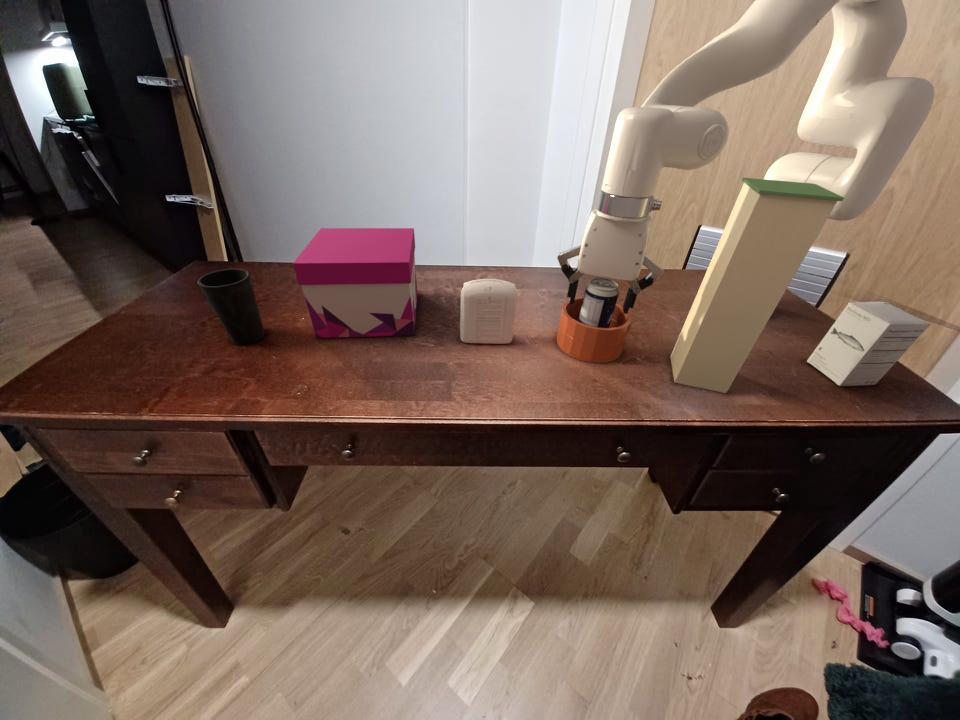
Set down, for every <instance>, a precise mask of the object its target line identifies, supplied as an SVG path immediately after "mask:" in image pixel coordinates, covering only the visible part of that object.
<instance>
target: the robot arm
mask: <svg viewBox="0 0 960 720" xmlns="http://www.w3.org/2000/svg"><path fill="white" fill-rule="evenodd" d="M830 11H831V13H832V20H833V36H832V41H831V45H830V48H829V51H828V53H827V56H826V58H825V61H824V63H823V65H822V68H821V70H820V72H819V74H818V77H817V79H816V81H815V83H814V86H813V87H812V91H811V93H810V95H809V97H808V100H807V102H806V104H805V106H804V109H803V111H802V113H801V117H800V118H799V121H798V125H797V129H796V131H797V132H796V133H797V136H798V138H799V139H800V140H802V141H803V142H805V143H806V142H807V143H810V144H814V145H822V146H828V147H838V148H839V147H840V148H846V149H854V150H856V154H855V158H854V157H846V156H840V155H838V154H837V155H835V154H827V153H821V152H813V151H795V152H792V153H787V154H785V155H783V156H781V157H780V158H778V159H776V160H775V161H774V162H773V163H772V164H771V165H770V167H769V168H768V169H767V171H766V173H765V175H764V177H763V179H764V180H776V181H788V182H800V183H812V184H817V185H819V186H821V187H823V188H825V189H827V190H829V191H831V192H833V193H835V194H838V195H840V196H842V197H844V199H843V201H837V203H836V204H835V206H834V208H833V210H832V211H831V213H830V215H829V217H828V218H827V220H833V221H841V222H844V221H845V222H847V221H851V220H854V219H856V218H858V217H860V216H861V215H863V214H864V213H865V212H867V211H868V210H869V209H870V208H871V206H872V205H873V204H874V203H875V202H876V200H877V199H878V198H879V196H880V195H881V193H882V191H883V190H884V188H885V187H886V185H887V183H888V182H889V180H890V179H891V177H892V175H893V174H894V172H895V171H896V169H897V167H898V165H900V163H901V161H902V159H903V158H904V156H905V154H906V153H907V151H908V149H909V148H910V146H911V145H912V143H913V141H914V140H915V138H916V136H917V135H918V133H919V132H920V130H921V128H922V126H923V125H924V123H925V121H926V119H927V118H928V116H929V114H930V111H931V109H932V106H933V103H934V99H935V87H934V85H933V83H932V82H931V81H929V80H928V79H926V78H924V77H923V78H922V77H917V76H888V73H889V71H890V68H891V66H892V64H893V62H894V60H895V59H896V56H897V54H898V52H899V50H900V48H901V45H903V43H904V39H905V37H906V33H907V29H908V21H907V13H906V8H905V5H904V2H903V0H754V2H753V3H751V5H750V6H749V7H748V9H746V11H745V12H744V14H743V15H742V16H741V17H740V18H739V19H738V21H737V22H735V23H734V24H732V26H731V27H728V28H727V29H726V30H725V31H723V32H722V33H720V34H719V35H717V36H715V37H714V38H712V39H711V40H710V41H709V42H707V43H706V44H704V45H703V46H702V47H700V48H698V49H697V50H696V51H695V52H694V53H692V54H691V55H690V56H688V57H686V58H685V59H683V61H681V62H680V63H679V64H677V66H675V67H674V68H672V70H670V72H669V73H667V75H665V76H664V78H663V79H661V81H660V82H658V84H657V86H656V87H655V88H654V89H653V91H652V92H651V93H650V94H649V95H648V97H647V98H646V99H645V101H644V102H643V103H642V105H641V106H629V107H626V108H623V109H622V110H621V111H620V112H619V113H618V115H617V118H616V121H615V124H614V129H613V133H612V138H611V142H610V146H609V147H610V148H609V152H608V157H607V162H606V166H605V170H604V174H603V179H602V184H601V190H600V193H599V198H598V204H597V208H593V209H592V210H591V212H590V215H589V217H588V221H587V223H586V226H585V228H584V233H583V237H582V240H581V244H580V245H578V246H574V247H571V248H569V249H566V250H564V251H561V252H559V253H558V255H557V256H556V257H557V261H558V263H559V267H560V268H561V272H562V274H563V275H564V276H565V278H566V279H567V281H568V283H569V284H568V289H567V294H566V298H570V299H569V300H570V303H569V304H574V300H575V298H576V297H577V290H578V286H579V281H580V278H582V277H584V275H586V276H591V277H596V278H605V279H610V280H617V281H624V282H627V283H628V285H629V287H628V288H627V292H626V295H625V299H624V302H623V305H622V306H623V313H624V314H627V313H628V311H630V309H634V306H635V303H636V300H637V297H638V294H640V293H641V292H642V291H644V290H645V289H647V288H648V287H649V288H650V287H651V286H652V285H653V284H654V283H655V282H656V281H657V280H659V278H660V277H661V276H662V275H663V274H664V273H665V272H664V267H663V266H661V265H660V264H659V263H658V262H656V261H655V260H654V259H653V258H651V257H650V256H648V254H646V251H647V249H648V248H647V247H648V242H649V236H650V232H651V231H650V230H651V226H652V216H651V215H649V214H650V213H651V212H655V211H660V210H661V208H662V204H663V201H662V200H658V199H656V198H655V197H654V195H655V191H656V189H657V185H658V181H659V178H660V175H661V171H662V169H663V168H672V169H677V170H683V171H690V170H692V171H694V170H697V169H701V168H704V167H705V166H708V165H709V164H711V163H712V162H713V161H714V160H716V158H718V156H720V154H721V153H722V152H723V150H724V148H725V146H726V144H727V143H728V138H729V133H730V131H729V129H730V127H729V124H728V123H729V122H728V121H727V119H726V117H725V116H724V114H722V113H721V112H720V111H718V110H716V109H713V108H709V107H701V106H697V105H698V104H700V103H702V102H703V101H705V100H706V99H709V98H710V97H712V96H714V95H717V94H719V93H721V92H724V91H727V90H730V89H732V88H735V87H738V86H742V85H744V84H747V83H749V82H752V81H754V80H756V79H759V78H761V77H763V76H766V75H768V74H770V73H772V72H774V71H775V70H777V69H779V68H780V67H781V66H782V65H784V64H785V63H786V62H787V61H788V60H789V58H790V57H791V56H792V55H793V54H794V53H795V52H796V50H797V49H798V48H799V47H800V46H801V44H802V43H803V42H804V41H805V40H806V38H807V37H809V35H810V34H811V33H812V32H813V31H814V30H815V28H816V27H817V26H818V25H819V24H820V23H821V22H822V20H823V19H824V17H826V16H827V15H828V14H829V12H830ZM577 256H578V259H577V265H576V268H573V267H572V266H571V265H570V263H569V261H568V260H569V259H572V258H575V257H577ZM643 267H645V268H647V269H648V270H649V271H650V272H649V274H648V275H646V276H644V277H642V278H641V279H639V276H640V273H641V272H642V268H643Z"/></svg>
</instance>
